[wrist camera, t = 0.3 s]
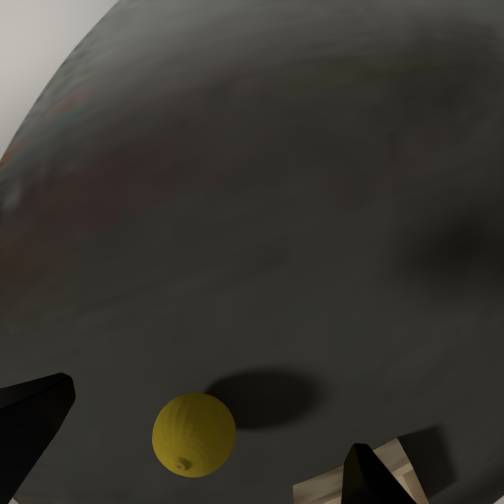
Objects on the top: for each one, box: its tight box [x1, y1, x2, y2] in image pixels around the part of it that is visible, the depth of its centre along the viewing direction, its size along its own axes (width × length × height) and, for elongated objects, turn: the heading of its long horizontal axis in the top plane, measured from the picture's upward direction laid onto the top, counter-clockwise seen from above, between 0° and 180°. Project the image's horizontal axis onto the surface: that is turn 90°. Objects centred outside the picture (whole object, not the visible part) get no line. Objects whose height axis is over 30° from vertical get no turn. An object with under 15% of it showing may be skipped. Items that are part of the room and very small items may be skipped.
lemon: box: [152, 393, 236, 477], centre depth 19 cm, size 6×6×8 cm
